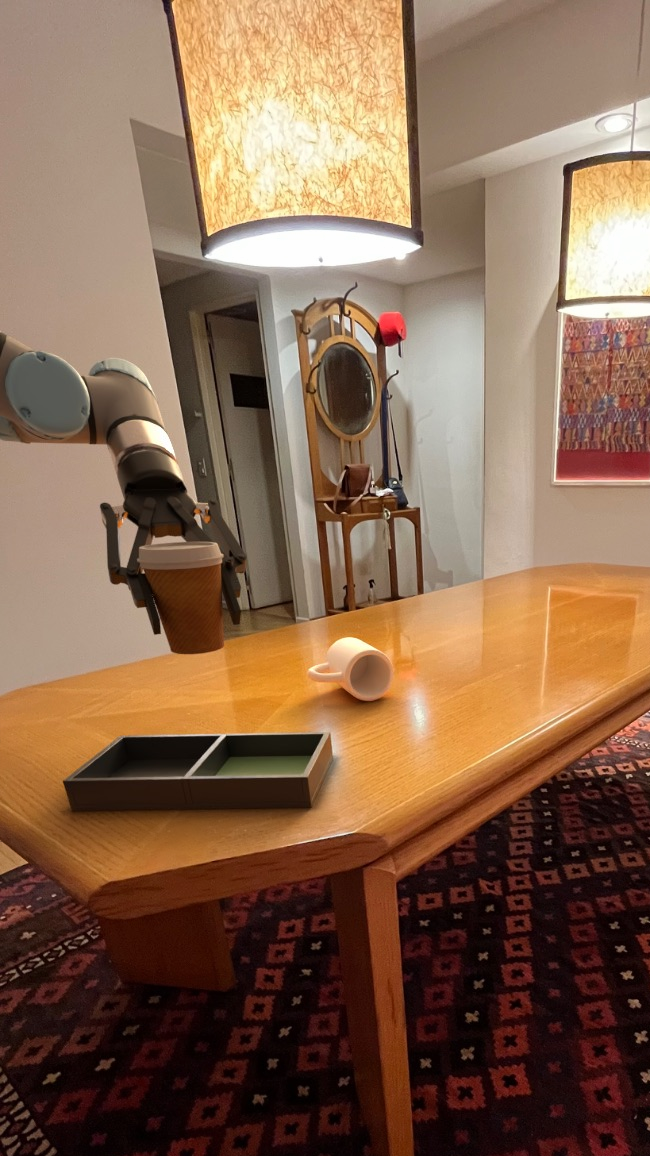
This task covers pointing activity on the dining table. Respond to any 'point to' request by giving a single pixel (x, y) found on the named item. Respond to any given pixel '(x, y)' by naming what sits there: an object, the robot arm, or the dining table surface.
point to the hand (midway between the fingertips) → (198, 622)
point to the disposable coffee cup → (187, 593)
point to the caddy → (203, 772)
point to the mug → (356, 669)
